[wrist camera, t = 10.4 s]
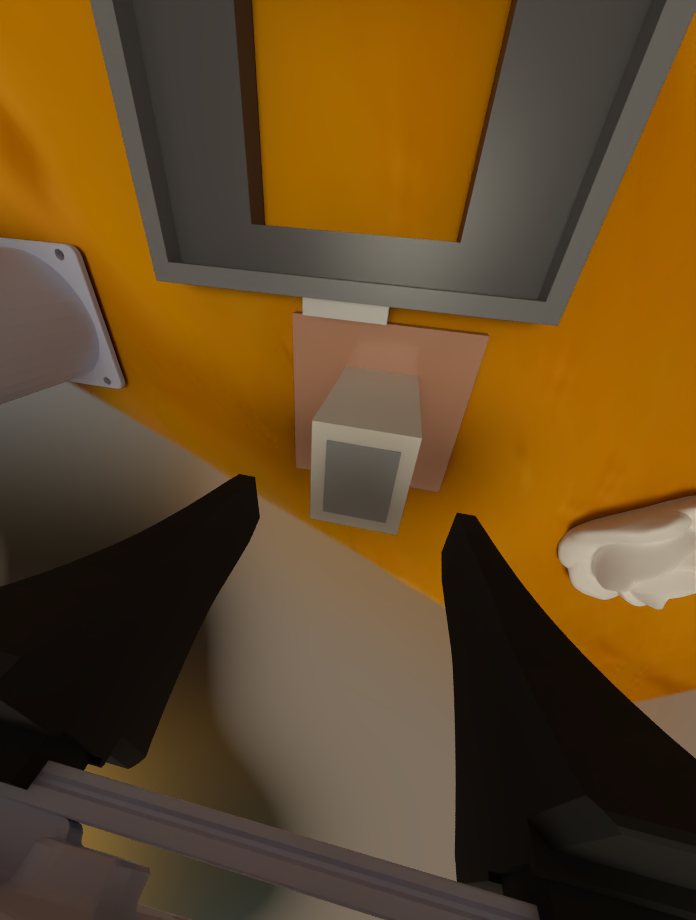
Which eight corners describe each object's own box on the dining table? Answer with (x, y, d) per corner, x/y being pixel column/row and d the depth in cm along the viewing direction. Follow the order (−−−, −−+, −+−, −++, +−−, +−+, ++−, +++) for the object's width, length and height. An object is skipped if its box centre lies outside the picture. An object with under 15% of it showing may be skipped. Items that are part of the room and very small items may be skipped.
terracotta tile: (298, 463, 22) (296, 467, 21) (296, 311, 16) (292, 312, 16) (438, 487, 21) (438, 492, 20) (487, 333, 15) (489, 336, 15)
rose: (684, 509, 14) (880, 574, 14) (628, 458, 18) (784, 509, 18) (547, 614, 20) (687, 659, 20) (527, 559, 23) (645, 598, 23)
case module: (339, 442, 20) (309, 519, 14) (346, 366, 17) (311, 421, 11) (401, 453, 19) (396, 536, 13) (418, 376, 16) (422, 440, 11)
